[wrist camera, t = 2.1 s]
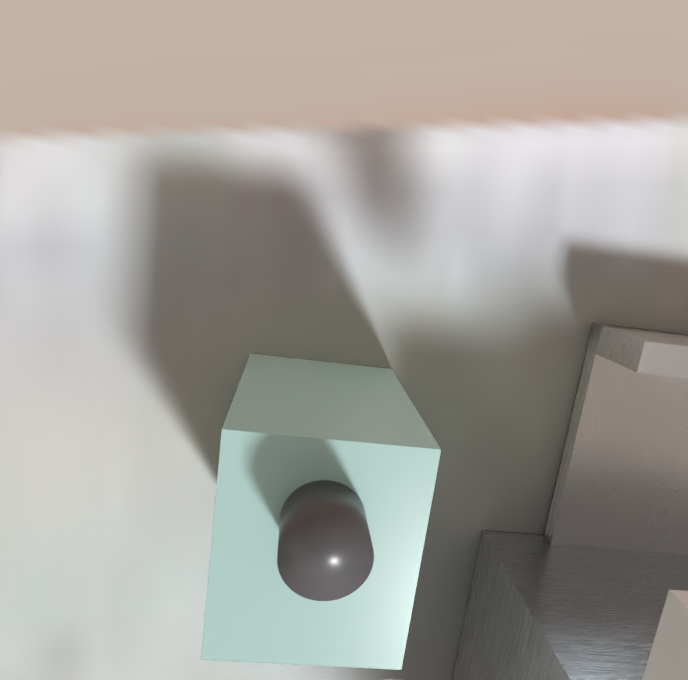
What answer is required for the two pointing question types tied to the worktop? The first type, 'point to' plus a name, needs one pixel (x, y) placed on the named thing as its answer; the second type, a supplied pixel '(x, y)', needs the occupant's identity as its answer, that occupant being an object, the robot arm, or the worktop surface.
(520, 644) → the motor
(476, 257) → the worktop surface
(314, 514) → the block
